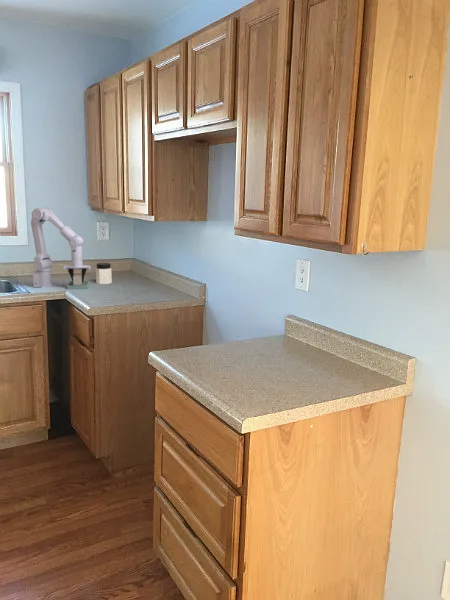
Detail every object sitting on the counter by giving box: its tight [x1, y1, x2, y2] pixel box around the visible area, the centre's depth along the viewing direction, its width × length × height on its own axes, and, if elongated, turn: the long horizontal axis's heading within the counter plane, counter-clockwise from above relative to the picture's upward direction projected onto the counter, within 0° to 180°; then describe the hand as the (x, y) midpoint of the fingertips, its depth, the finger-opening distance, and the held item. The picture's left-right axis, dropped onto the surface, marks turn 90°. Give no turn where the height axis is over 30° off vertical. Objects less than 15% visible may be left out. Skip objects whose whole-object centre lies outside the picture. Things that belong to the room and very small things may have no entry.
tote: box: [66, 280, 91, 290], centre depth 294 cm, size 11×15×2 cm
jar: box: [95, 262, 113, 285], centre depth 307 cm, size 9×8×12 cm
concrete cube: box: [73, 274, 83, 286], centre depth 290 cm, size 5×5×6 cm
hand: (77, 282), depth 290 cm, fingers closed on concrete cube, 4 cm apart
